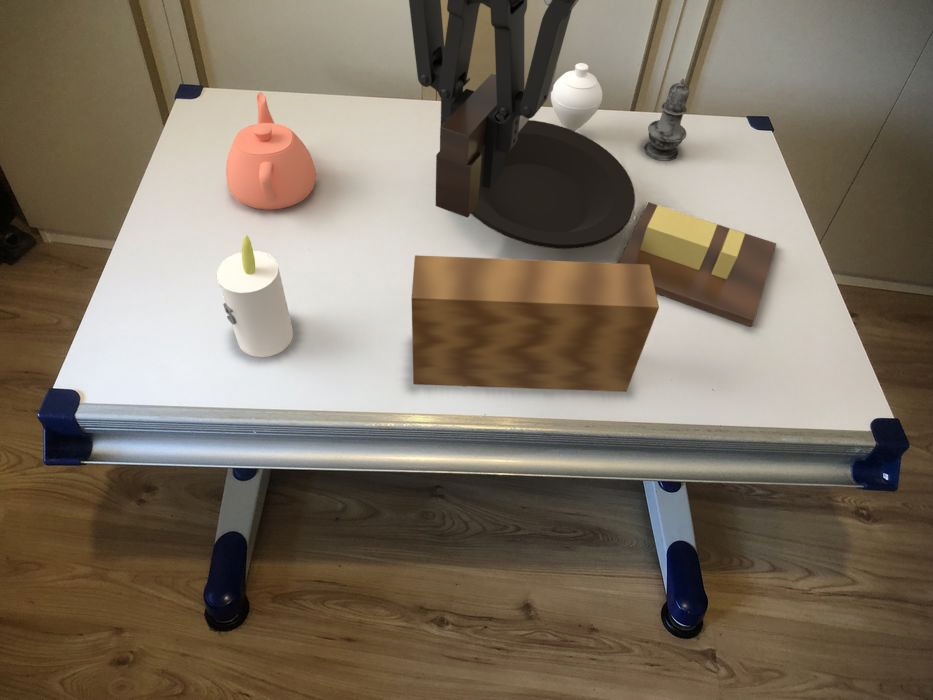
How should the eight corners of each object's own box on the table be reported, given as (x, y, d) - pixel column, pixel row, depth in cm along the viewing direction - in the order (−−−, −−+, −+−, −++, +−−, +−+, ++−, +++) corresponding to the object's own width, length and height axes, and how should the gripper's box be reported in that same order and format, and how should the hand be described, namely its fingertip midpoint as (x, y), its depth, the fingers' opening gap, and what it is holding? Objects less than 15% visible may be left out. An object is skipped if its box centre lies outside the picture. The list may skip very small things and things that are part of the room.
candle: (225, 335, 80) (191, 237, 68) (272, 308, 83) (247, 209, 71) (256, 367, 77) (226, 270, 65) (304, 337, 80) (283, 240, 68)
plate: (415, 176, 100) (415, 142, 96) (551, 136, 109) (557, 104, 104) (514, 301, 85) (518, 268, 81) (664, 244, 93) (675, 212, 89)
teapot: (229, 228, 91) (212, 168, 84) (231, 149, 102) (216, 90, 95) (321, 220, 93) (312, 161, 86) (313, 143, 104) (305, 85, 97)
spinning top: (588, 124, 111) (603, 52, 102) (596, 152, 106) (613, 79, 97) (541, 123, 111) (552, 51, 101) (548, 152, 106) (560, 79, 97)
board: (750, 327, 84) (754, 320, 84) (611, 277, 89) (613, 271, 88) (773, 249, 94) (776, 243, 93) (646, 208, 98) (648, 201, 97)
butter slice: (726, 279, 88) (737, 256, 85) (711, 274, 88) (721, 251, 85) (734, 256, 91) (745, 233, 88) (719, 251, 91) (729, 228, 88)
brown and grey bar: (467, 218, 56) (472, 137, 50) (435, 206, 57) (436, 125, 51) (564, 93, 69) (577, 18, 63) (537, 85, 70) (547, 10, 64)
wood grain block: (413, 384, 76) (411, 297, 66) (416, 343, 80) (414, 254, 69) (626, 392, 77) (659, 307, 66) (619, 350, 81) (649, 264, 70)
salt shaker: (678, 165, 105) (702, 93, 96) (640, 157, 106) (660, 85, 97) (681, 144, 109) (705, 72, 100) (644, 136, 110) (664, 65, 101)
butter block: (698, 270, 89) (708, 247, 86) (639, 250, 91) (647, 226, 88) (707, 247, 92) (717, 224, 89) (650, 228, 94) (657, 204, 91)
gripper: (351, -172, 40) (374, 168, 58) (603, -119, 36) (543, 228, 54) (414, -199, 44) (417, 125, 62) (645, -154, 40) (576, 177, 58)
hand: (475, 172), depth 58 cm, fingers closed on brown and grey bar, 2 cm apart
